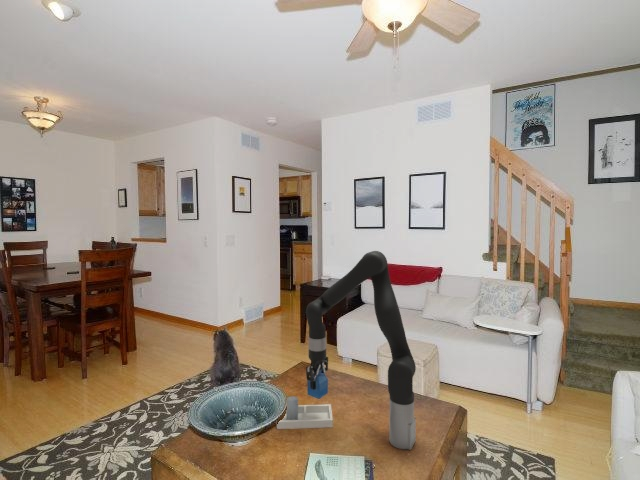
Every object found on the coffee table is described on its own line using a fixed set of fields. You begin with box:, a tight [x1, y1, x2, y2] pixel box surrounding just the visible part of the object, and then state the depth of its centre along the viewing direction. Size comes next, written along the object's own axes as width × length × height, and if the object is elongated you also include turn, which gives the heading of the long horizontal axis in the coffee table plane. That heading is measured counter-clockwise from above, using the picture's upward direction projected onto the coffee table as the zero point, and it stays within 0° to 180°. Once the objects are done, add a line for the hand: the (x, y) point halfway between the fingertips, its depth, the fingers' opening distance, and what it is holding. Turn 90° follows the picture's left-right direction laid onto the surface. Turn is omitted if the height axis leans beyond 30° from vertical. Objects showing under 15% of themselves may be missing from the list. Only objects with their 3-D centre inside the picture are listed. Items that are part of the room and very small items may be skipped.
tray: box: [276, 403, 334, 430], centre depth 146 cm, size 23×12×4 cm, turn 92°
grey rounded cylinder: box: [286, 395, 299, 420], centre depth 146 cm, size 5×5×9 cm
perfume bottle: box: [306, 366, 329, 400], centre depth 145 cm, size 6×6×12 cm
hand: (317, 385), depth 145 cm, fingers closed on perfume bottle, 6 cm apart
